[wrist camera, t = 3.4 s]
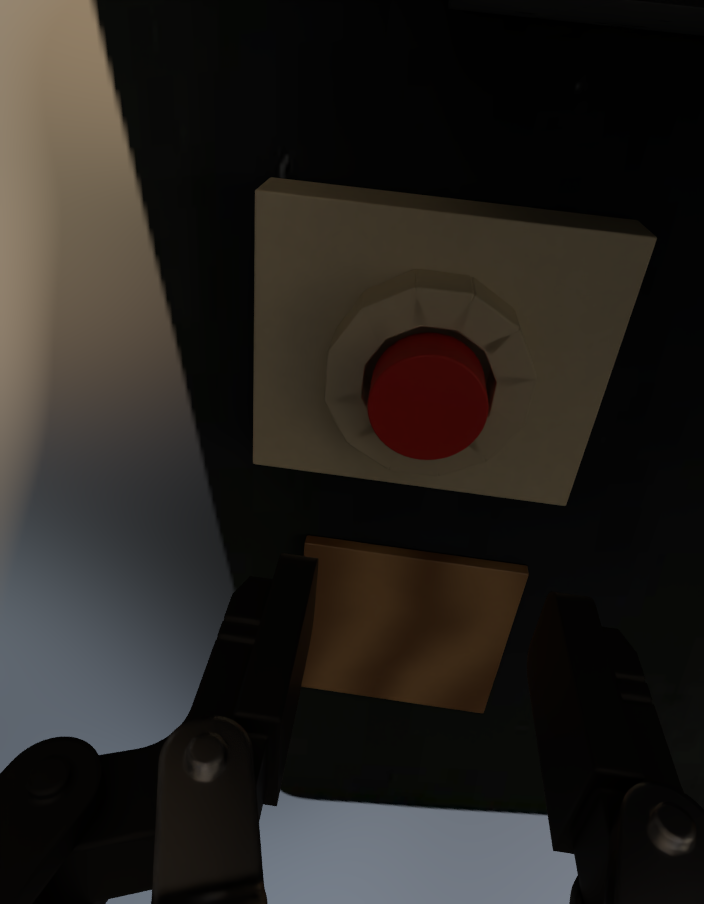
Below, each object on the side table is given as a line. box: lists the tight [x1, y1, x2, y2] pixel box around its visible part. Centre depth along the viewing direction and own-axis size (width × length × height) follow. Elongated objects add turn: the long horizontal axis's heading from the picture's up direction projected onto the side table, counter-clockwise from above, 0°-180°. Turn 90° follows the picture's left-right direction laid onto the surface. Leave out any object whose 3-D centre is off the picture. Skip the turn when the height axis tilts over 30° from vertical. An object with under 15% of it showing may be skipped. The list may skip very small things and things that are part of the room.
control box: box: [253, 177, 657, 506], centre depth 22 cm, size 12×10×4 cm
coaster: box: [301, 535, 529, 713], centre depth 32 cm, size 10×10×1 cm
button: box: [367, 332, 489, 460], centre depth 20 cm, size 4×4×2 cm
